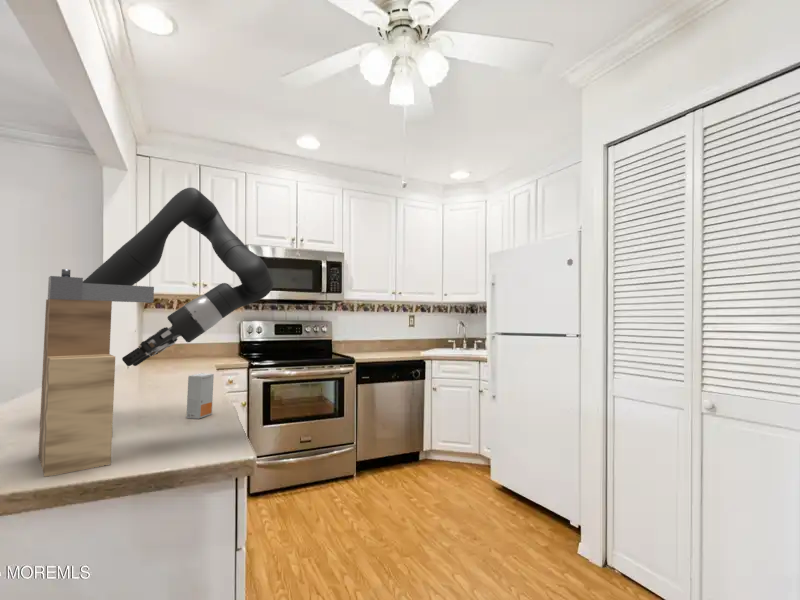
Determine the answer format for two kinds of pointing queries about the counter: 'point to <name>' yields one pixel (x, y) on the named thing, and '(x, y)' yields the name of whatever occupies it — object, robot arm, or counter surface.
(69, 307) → the upright wood plank
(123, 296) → the dark grey bar piece
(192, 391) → the skincare box
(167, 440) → the counter surface
